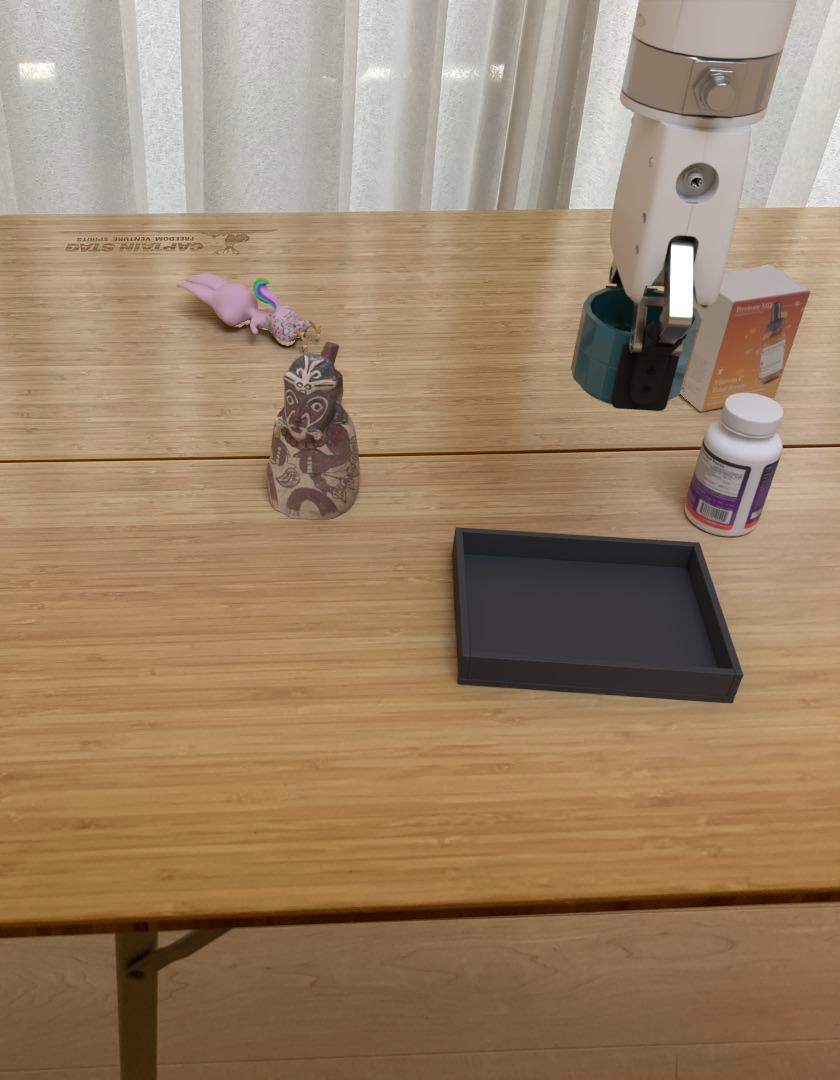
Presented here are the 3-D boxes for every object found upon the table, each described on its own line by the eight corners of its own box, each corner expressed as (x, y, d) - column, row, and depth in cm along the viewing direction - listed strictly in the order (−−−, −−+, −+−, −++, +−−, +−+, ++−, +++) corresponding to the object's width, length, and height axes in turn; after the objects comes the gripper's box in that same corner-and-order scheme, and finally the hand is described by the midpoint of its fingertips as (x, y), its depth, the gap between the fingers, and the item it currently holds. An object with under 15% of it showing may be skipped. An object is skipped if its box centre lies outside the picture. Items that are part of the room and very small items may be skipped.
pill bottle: (735, 493, 86) (771, 384, 80) (770, 535, 82) (810, 424, 76) (670, 498, 86) (701, 389, 80) (702, 542, 82) (737, 430, 76)
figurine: (246, 496, 85) (245, 357, 77) (302, 455, 89) (306, 320, 82) (322, 532, 81) (328, 390, 74) (376, 488, 86) (387, 350, 79)
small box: (699, 414, 96) (731, 302, 89) (662, 382, 100) (690, 273, 93) (776, 400, 98) (813, 289, 91) (737, 369, 102) (770, 261, 95)
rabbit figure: (326, 346, 106) (197, 285, 111) (337, 292, 102) (204, 230, 106) (292, 373, 102) (160, 309, 106) (303, 318, 98) (165, 253, 102)
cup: (670, 360, 72) (689, 289, 69) (690, 416, 67) (711, 341, 64) (565, 354, 72) (578, 282, 69) (576, 408, 67) (591, 334, 64)
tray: (691, 569, 79) (699, 542, 78) (733, 703, 69) (743, 675, 67) (451, 554, 80) (455, 526, 78) (458, 684, 70) (462, 655, 68)
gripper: (817, 136, 51) (717, 457, 62) (734, 37, 65) (665, 314, 76) (651, 128, 52) (582, 448, 63) (604, 31, 65) (554, 308, 76)
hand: (628, 373), depth 69 cm, fingers closed on cup, 6 cm apart
